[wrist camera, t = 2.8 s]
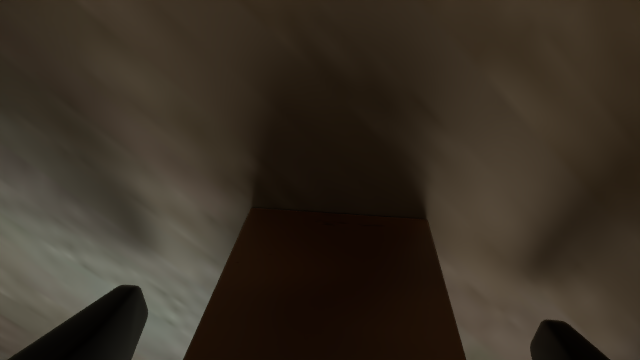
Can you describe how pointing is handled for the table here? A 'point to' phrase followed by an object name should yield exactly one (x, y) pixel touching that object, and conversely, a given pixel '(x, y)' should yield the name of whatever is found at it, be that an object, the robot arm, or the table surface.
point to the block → (329, 292)
